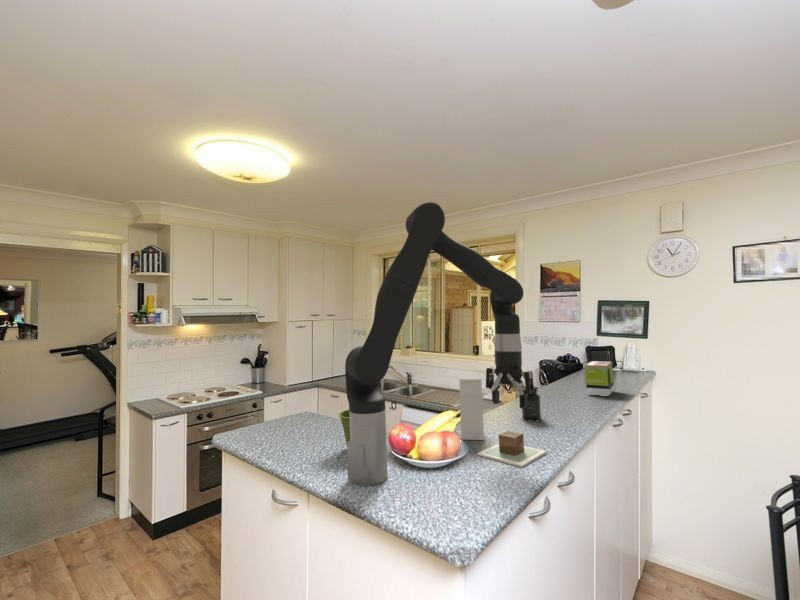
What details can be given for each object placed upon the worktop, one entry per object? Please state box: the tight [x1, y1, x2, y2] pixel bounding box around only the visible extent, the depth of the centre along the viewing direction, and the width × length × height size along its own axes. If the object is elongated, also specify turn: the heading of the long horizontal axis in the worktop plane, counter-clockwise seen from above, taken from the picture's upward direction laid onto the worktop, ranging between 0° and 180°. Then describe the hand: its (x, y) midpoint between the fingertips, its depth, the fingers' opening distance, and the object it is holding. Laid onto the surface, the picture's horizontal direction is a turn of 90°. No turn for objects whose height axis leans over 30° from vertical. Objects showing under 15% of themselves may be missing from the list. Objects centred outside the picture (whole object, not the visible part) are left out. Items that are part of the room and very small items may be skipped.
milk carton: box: [459, 378, 485, 441], centre depth 131 cm, size 7×7×19 cm
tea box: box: [584, 360, 615, 396], centre depth 191 cm, size 15×10×15 cm, turn 144°
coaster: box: [476, 443, 548, 468], centre depth 114 cm, size 14×14×1 cm
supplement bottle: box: [521, 386, 542, 422], centre depth 151 cm, size 7×7×12 cm
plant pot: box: [338, 409, 350, 445], centre depth 124 cm, size 12×12×11 cm
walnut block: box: [498, 430, 525, 456], centre depth 114 cm, size 5×5×5 cm
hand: (509, 405), depth 114 cm, fingers open, 8 cm apart
